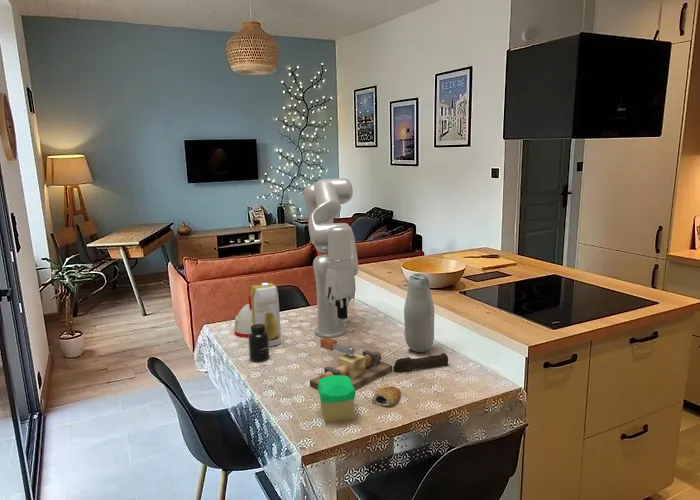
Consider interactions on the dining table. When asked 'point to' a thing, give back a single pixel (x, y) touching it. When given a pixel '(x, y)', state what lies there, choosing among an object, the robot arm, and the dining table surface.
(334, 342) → the valve lever
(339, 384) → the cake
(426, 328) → the grey bottle
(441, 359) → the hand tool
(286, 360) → the dining table surface
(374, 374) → the pipe board
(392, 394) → the pastry
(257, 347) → the supplement bottle
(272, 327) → the juice carton
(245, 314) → the white and red dome
